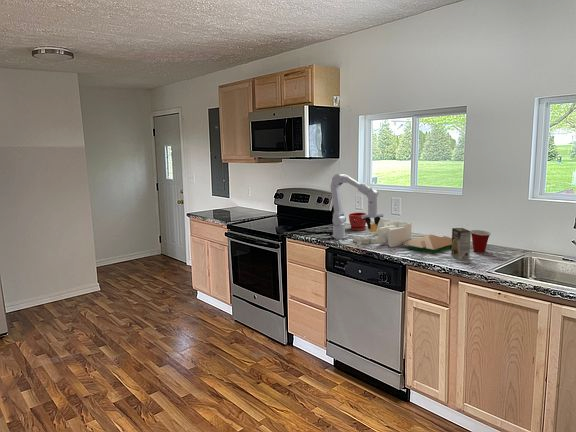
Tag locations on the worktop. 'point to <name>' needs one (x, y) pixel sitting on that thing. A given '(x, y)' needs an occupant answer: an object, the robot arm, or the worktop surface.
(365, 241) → the clip
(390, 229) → the cable organizer
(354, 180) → the robot arm
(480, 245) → the plastic cup
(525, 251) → the worktop surface
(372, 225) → the orange block
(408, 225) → the white slotted rack
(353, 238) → the clip
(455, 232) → the coffee box
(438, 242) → the house
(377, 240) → the frame
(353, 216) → the plant pot
